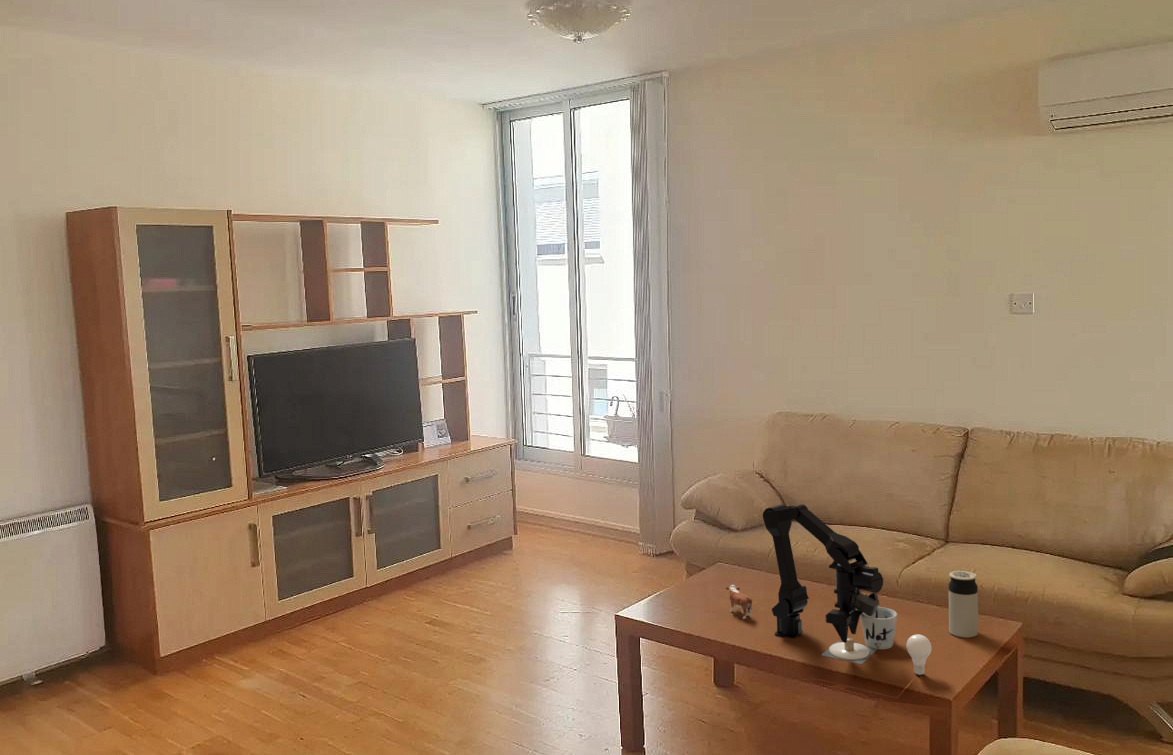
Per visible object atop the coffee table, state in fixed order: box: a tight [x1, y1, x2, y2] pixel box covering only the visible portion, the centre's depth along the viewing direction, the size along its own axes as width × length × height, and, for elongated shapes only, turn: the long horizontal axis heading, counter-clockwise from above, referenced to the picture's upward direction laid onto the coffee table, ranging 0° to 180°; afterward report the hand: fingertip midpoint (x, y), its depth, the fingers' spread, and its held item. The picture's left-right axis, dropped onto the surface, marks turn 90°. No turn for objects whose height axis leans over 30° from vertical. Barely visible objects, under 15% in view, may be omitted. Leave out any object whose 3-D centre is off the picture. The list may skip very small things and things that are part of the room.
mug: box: [859, 606, 898, 650], centre depth 270 cm, size 10×15×10 cm
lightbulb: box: [905, 634, 932, 676], centre depth 247 cm, size 6×6×11 cm
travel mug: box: [948, 570, 979, 639], centre depth 273 cm, size 8×8×18 cm
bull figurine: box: [725, 584, 753, 620], centre depth 298 cm, size 4×13×8 cm, turn 18°
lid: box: [828, 637, 869, 660], centre depth 263 cm, size 11×11×4 cm
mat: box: [820, 640, 878, 665], centre depth 263 cm, size 12×12×1 cm
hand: (849, 638), depth 263 cm, fingers open, 7 cm apart
